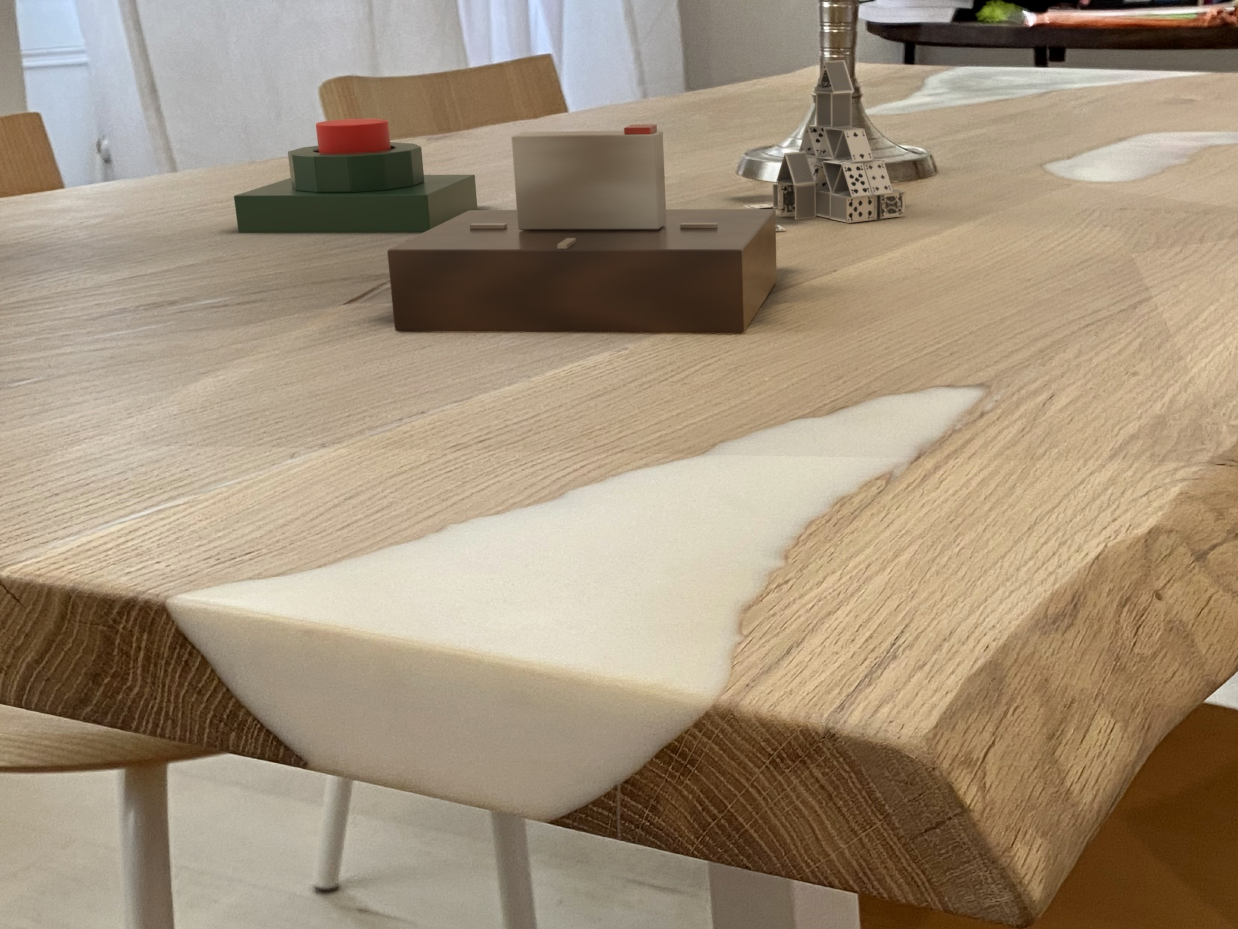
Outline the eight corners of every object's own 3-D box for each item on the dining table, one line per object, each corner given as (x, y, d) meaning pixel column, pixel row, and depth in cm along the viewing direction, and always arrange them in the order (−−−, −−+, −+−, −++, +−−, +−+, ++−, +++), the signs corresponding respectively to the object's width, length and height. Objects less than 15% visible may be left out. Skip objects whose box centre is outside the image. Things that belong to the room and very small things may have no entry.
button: (308, 161, 81) (304, 125, 81) (335, 153, 85) (331, 119, 84) (377, 160, 81) (373, 124, 80) (401, 152, 84) (397, 118, 84)
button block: (239, 240, 81) (228, 158, 80) (301, 216, 88) (292, 141, 87) (431, 239, 80) (423, 156, 78) (478, 215, 87) (472, 139, 86)
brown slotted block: (394, 331, 59) (385, 245, 58) (473, 281, 69) (467, 206, 68) (743, 333, 58) (741, 244, 57) (777, 282, 67) (775, 204, 66)
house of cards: (677, 213, 86) (672, 63, 84) (813, 198, 91) (812, 55, 88) (766, 233, 79) (763, 70, 76) (909, 216, 83) (911, 61, 81)
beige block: (517, 230, 62) (510, 129, 61) (528, 223, 63) (521, 125, 62) (658, 229, 61) (654, 127, 60) (666, 223, 63) (662, 123, 61)
